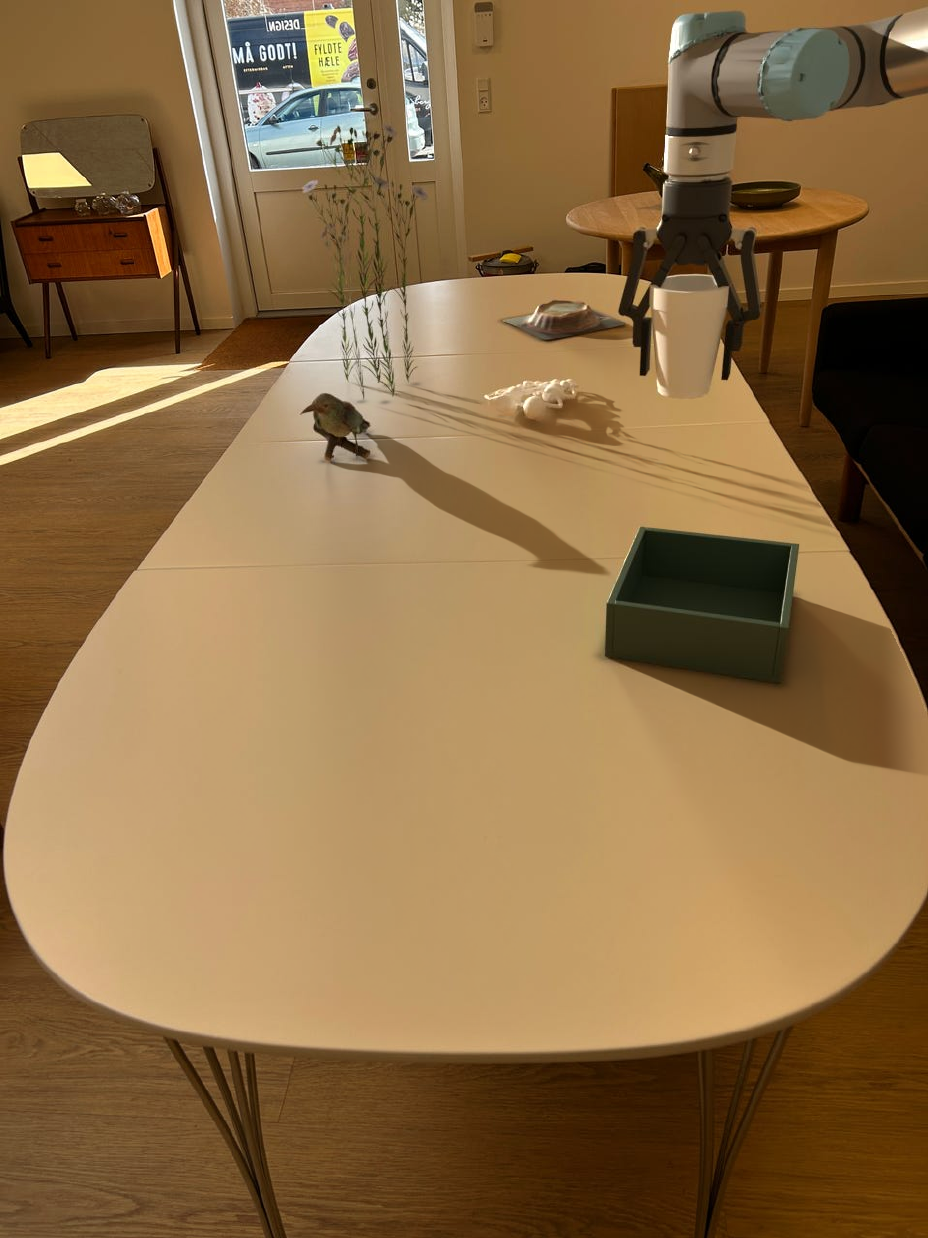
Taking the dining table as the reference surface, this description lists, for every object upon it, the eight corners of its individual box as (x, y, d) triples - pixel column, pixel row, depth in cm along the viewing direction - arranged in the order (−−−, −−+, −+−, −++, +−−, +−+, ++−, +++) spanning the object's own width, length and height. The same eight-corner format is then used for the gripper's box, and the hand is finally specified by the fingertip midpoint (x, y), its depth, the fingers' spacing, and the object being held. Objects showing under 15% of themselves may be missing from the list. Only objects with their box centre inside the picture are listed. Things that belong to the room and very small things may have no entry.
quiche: (580, 306, 218) (580, 288, 216) (628, 325, 202) (628, 306, 200) (500, 320, 211) (499, 302, 209) (542, 341, 195) (542, 322, 193)
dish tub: (791, 595, 106) (799, 543, 103) (779, 683, 92) (788, 628, 89) (637, 575, 112) (639, 526, 108) (604, 656, 98) (606, 603, 94)
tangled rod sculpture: (528, 387, 174) (526, 365, 172) (598, 392, 167) (597, 368, 165) (471, 418, 161) (469, 394, 159) (544, 424, 153) (543, 399, 151)
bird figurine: (335, 423, 158) (300, 340, 140) (391, 426, 156) (362, 343, 138) (316, 489, 153) (277, 411, 135) (374, 493, 150) (341, 415, 133)
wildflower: (345, 369, 186) (314, 114, 162) (455, 373, 180) (439, 109, 156) (299, 408, 168) (256, 127, 144) (419, 414, 162) (395, 122, 138)
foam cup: (653, 376, 122) (658, 273, 115) (725, 380, 119) (735, 274, 112) (639, 400, 115) (644, 291, 108) (716, 405, 112) (726, 293, 105)
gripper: (593, 182, 105) (590, 379, 116) (799, 179, 98) (774, 389, 109) (608, 173, 111) (604, 361, 122) (803, 169, 103) (779, 369, 115)
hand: (684, 374), depth 116 cm, fingers closed on foam cup, 9 cm apart
